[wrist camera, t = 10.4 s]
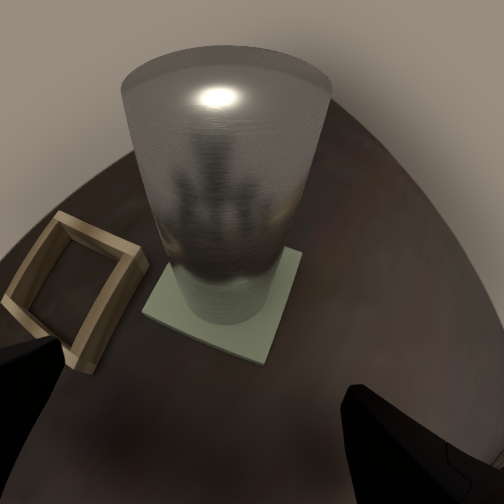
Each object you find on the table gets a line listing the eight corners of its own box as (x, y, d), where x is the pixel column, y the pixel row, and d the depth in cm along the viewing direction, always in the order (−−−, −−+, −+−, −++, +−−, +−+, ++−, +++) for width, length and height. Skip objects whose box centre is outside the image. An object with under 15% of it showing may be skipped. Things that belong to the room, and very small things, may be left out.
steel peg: (286, 279, 17) (362, 83, 6) (229, 344, 15) (233, 155, 4) (222, 230, 19) (224, 38, 8) (163, 284, 17) (88, 86, 5)
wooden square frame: (150, 265, 18) (140, 246, 16) (92, 375, 14) (73, 369, 12) (71, 228, 19) (59, 210, 17) (18, 314, 15) (0, 302, 13)
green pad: (299, 259, 19) (302, 252, 19) (262, 366, 15) (264, 364, 15) (198, 223, 20) (196, 215, 20) (146, 316, 16) (141, 311, 15)
